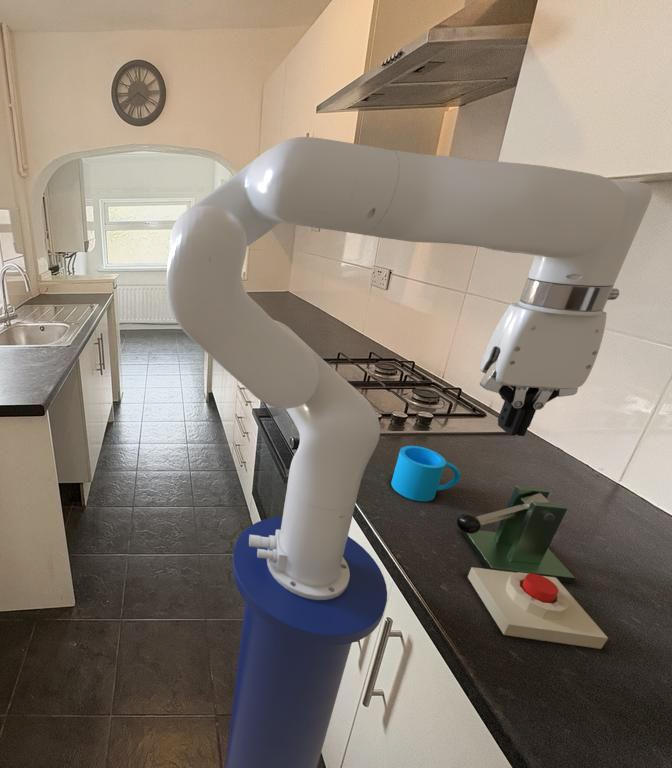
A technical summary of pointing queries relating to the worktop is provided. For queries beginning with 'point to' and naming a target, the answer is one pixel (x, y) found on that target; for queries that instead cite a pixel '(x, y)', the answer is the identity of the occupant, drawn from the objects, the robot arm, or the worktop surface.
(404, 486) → the mug
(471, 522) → the lever
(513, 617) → the button block
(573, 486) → the worktop surface
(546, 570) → the bracket
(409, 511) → the worktop surface
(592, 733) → the worktop surface
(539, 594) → the button
